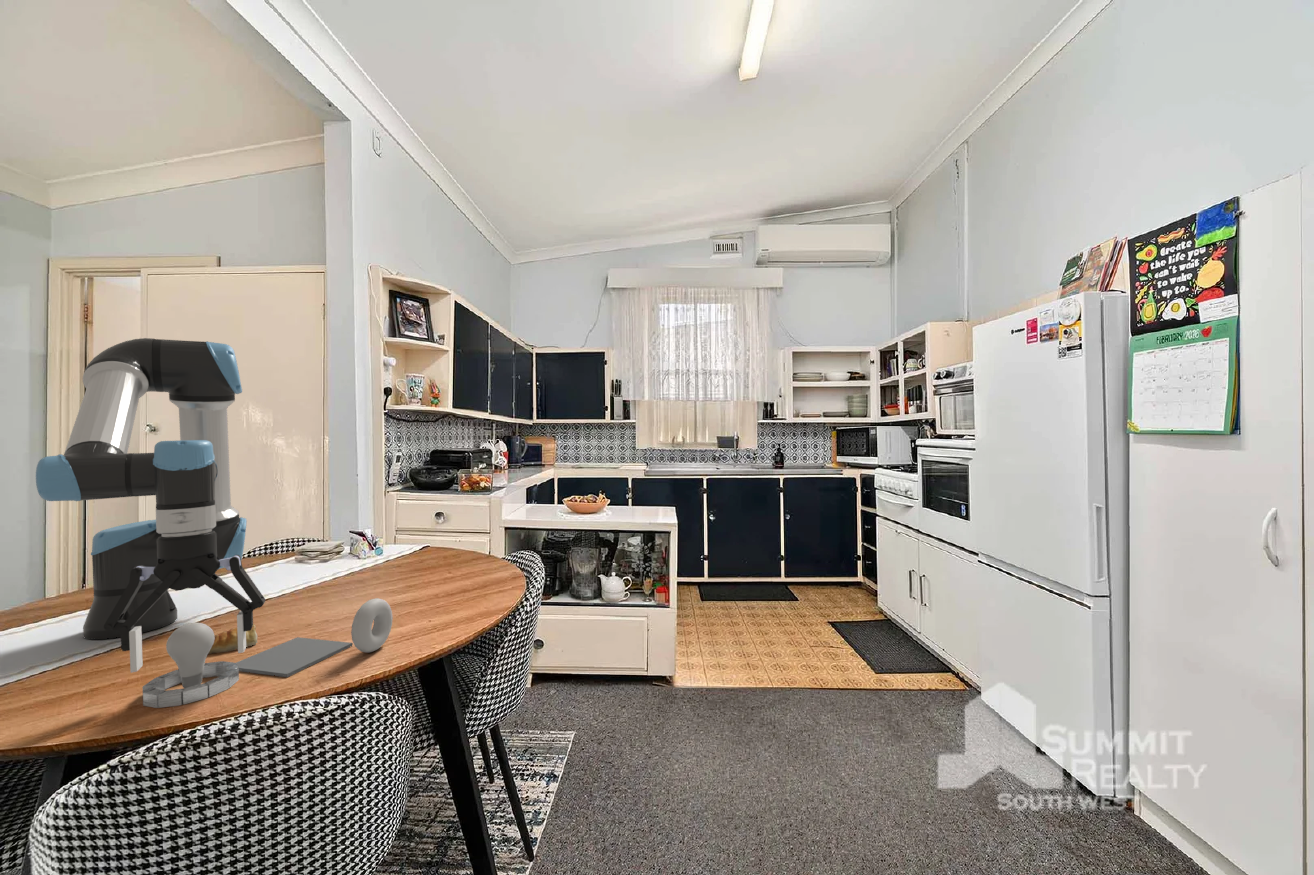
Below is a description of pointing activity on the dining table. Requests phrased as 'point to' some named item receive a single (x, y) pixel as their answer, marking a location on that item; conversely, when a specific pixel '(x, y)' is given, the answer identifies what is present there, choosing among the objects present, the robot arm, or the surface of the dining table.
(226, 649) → the pastry
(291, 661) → the mat
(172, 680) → the segmented bracelet
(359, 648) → the donut
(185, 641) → the lightbulb
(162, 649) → the dining table surface
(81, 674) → the dining table surface
